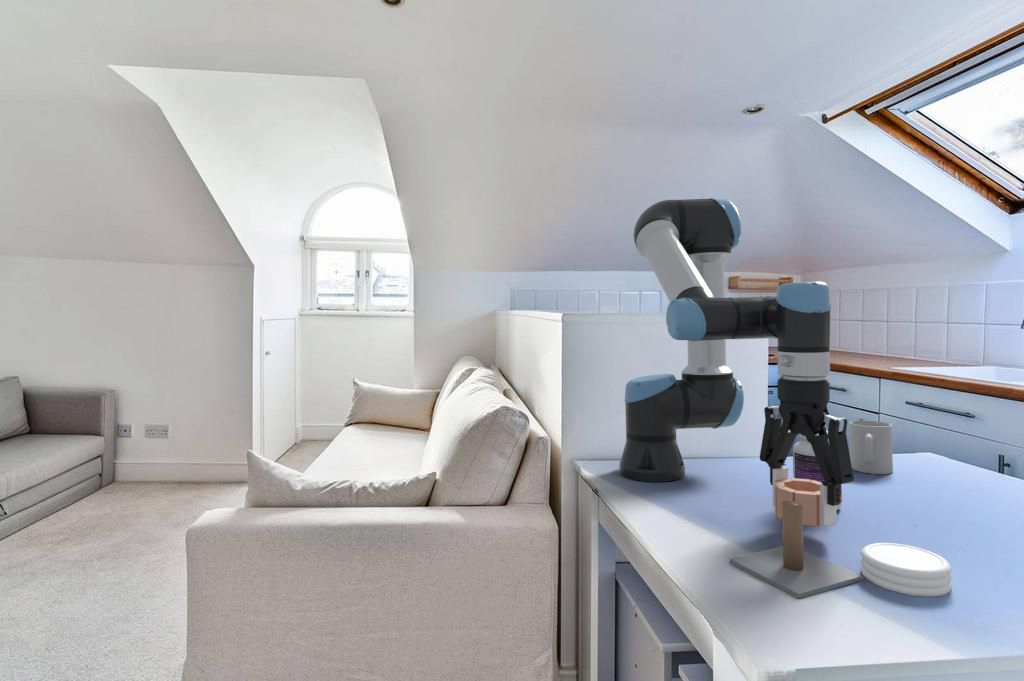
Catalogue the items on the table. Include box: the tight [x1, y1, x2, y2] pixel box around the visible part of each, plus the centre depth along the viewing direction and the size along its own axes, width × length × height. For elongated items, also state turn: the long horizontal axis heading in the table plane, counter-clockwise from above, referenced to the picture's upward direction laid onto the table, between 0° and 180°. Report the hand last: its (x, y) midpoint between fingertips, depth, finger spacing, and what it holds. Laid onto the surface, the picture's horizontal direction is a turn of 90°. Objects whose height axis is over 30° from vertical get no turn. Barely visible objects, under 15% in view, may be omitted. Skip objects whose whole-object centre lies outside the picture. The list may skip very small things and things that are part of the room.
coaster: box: [860, 542, 953, 598], centre depth 75 cm, size 10×10×4 cm
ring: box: [774, 477, 823, 527], centre depth 91 cm, size 8×8×5 cm
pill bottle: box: [792, 429, 843, 511], centre depth 105 cm, size 8×8×14 cm
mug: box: [848, 420, 894, 475], centre depth 128 cm, size 12×8×11 cm
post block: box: [728, 501, 864, 599], centre depth 78 cm, size 12×12×10 cm
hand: (803, 514), depth 91 cm, fingers closed on ring, 8 cm apart
